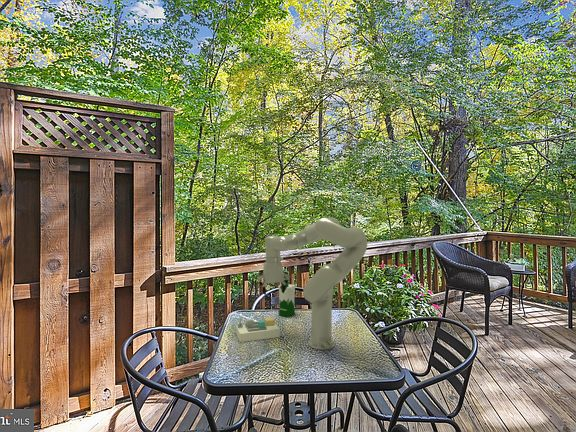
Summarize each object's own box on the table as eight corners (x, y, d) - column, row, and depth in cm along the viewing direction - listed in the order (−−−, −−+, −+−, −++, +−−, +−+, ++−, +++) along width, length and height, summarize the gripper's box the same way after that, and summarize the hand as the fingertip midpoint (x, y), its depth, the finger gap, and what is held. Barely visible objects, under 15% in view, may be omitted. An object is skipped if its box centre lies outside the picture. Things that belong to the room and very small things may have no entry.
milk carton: (276, 315, 195) (276, 282, 195) (285, 311, 203) (284, 279, 203) (289, 318, 191) (289, 284, 190) (297, 314, 198) (297, 281, 198)
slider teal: (265, 329, 163) (265, 322, 163) (259, 329, 162) (259, 322, 162) (263, 327, 165) (263, 320, 165) (258, 327, 164) (258, 321, 164)
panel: (279, 336, 163) (279, 317, 163) (240, 342, 157) (239, 321, 156) (273, 328, 174) (273, 310, 174) (235, 333, 168) (235, 314, 168)
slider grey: (253, 326, 166) (253, 320, 166) (247, 327, 165) (247, 320, 165) (252, 325, 169) (252, 318, 168) (246, 325, 168) (246, 318, 168)
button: (274, 329, 169) (274, 320, 169) (266, 330, 167) (266, 321, 167) (272, 326, 173) (272, 317, 173) (264, 327, 171) (264, 318, 171)
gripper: (287, 258, 173) (288, 290, 173) (255, 260, 168) (255, 293, 168) (291, 260, 165) (292, 293, 165) (257, 262, 161) (258, 296, 161)
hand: (273, 293), depth 167 cm, fingers open, 9 cm apart
